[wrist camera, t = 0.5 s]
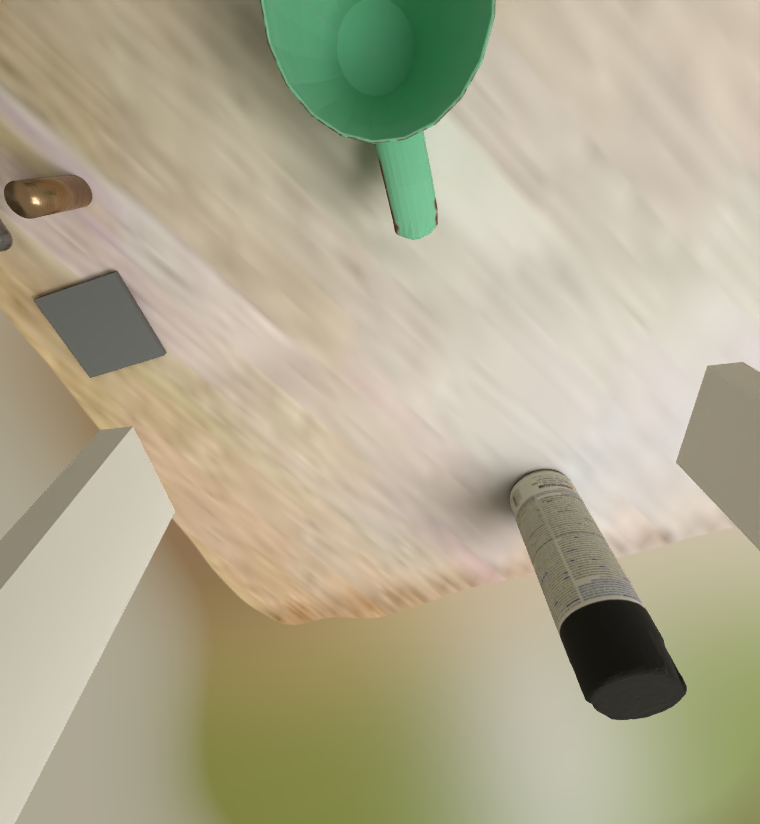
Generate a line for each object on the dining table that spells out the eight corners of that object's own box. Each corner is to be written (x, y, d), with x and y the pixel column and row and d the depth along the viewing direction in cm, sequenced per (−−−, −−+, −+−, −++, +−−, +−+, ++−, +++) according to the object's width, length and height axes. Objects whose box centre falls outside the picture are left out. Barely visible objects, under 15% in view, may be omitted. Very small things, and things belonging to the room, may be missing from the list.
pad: (38, 297, 34) (33, 300, 33) (117, 271, 33) (113, 273, 33) (94, 374, 38) (90, 377, 37) (166, 352, 37) (163, 355, 36)
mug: (269, -32, 25) (216, -124, 16) (440, -93, 24) (481, -228, 15) (344, 235, 32) (336, 269, 24) (477, 198, 31) (517, 219, 22)
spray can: (528, 524, 48) (616, 732, 31) (494, 490, 46) (569, 698, 28) (583, 493, 46) (708, 699, 29) (550, 456, 43) (668, 658, 26)
